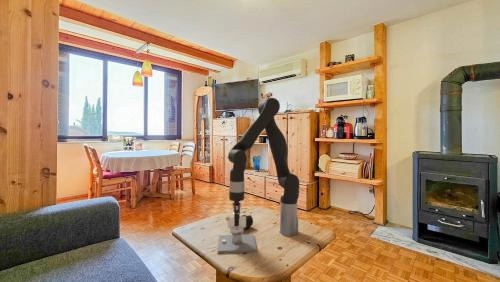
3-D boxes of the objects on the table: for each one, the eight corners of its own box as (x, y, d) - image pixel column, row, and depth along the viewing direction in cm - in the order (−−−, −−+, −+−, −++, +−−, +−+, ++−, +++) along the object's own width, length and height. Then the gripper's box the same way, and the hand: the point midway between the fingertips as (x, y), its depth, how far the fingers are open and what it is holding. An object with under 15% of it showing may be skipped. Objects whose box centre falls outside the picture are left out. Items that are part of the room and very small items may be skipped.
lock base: (253, 236, 120) (253, 224, 120) (256, 251, 104) (256, 238, 104) (219, 237, 119) (219, 225, 119) (217, 253, 103) (217, 240, 103)
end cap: (239, 232, 125) (239, 220, 125) (232, 228, 130) (232, 217, 130) (253, 227, 131) (253, 216, 131) (245, 224, 137) (245, 213, 137)
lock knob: (245, 228, 115) (245, 214, 115) (246, 234, 108) (246, 219, 108) (226, 229, 114) (226, 215, 114) (225, 235, 108) (225, 220, 107)
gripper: (245, 193, 104) (244, 228, 104) (243, 186, 118) (243, 217, 119) (229, 193, 103) (228, 228, 104) (229, 186, 118) (229, 217, 118)
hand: (236, 222), depth 111 cm, fingers open, 8 cm apart
